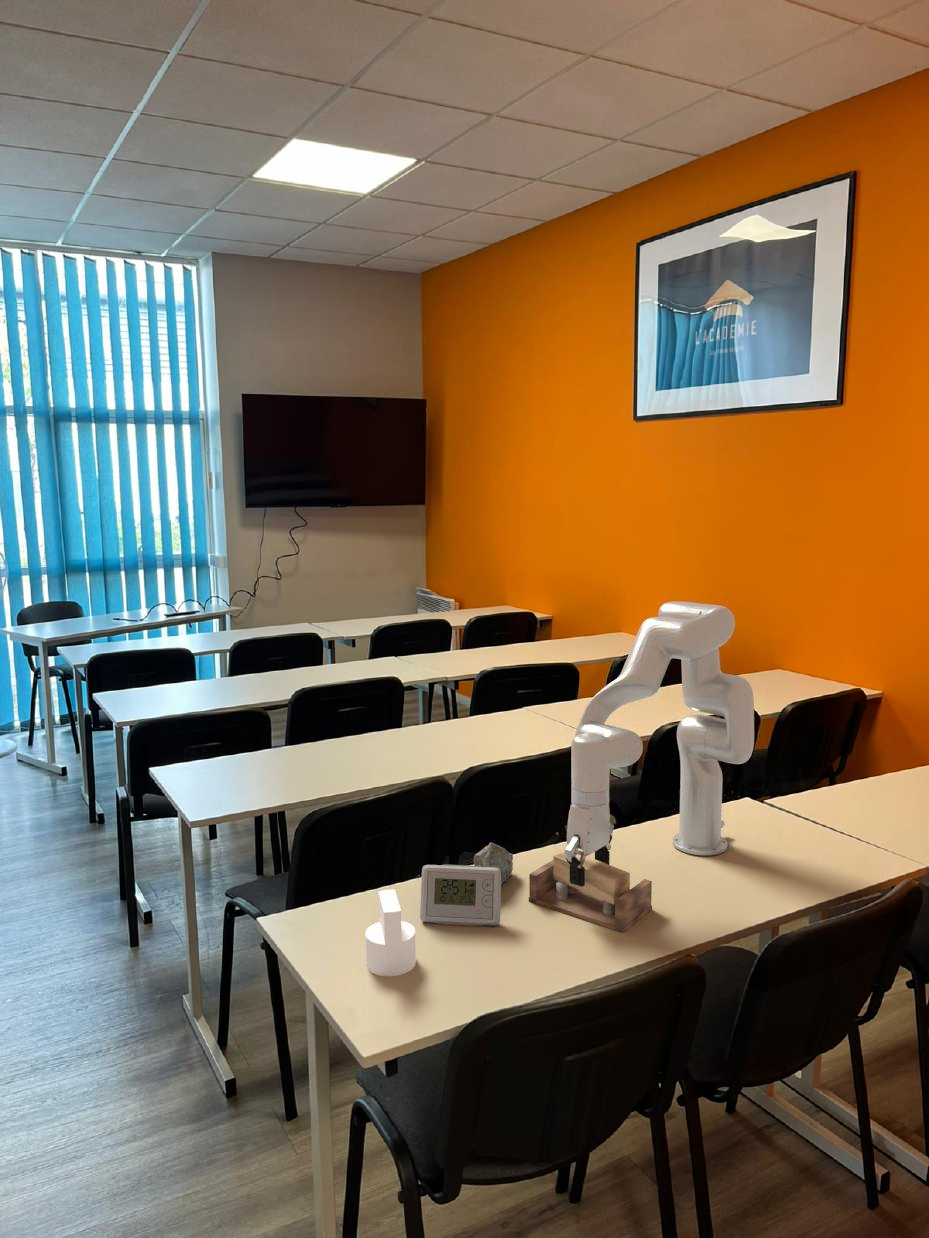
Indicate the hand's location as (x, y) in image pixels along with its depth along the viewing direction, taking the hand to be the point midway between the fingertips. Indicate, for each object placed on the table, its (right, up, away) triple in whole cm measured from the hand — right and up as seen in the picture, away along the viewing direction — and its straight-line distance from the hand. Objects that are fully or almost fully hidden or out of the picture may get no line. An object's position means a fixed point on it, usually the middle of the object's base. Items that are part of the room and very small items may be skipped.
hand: (589, 876), depth 183 cm
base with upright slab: (-39, -10, -20) cm, 45 cm away
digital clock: (-26, -8, -4) cm, 28 cm away
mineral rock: (-19, -5, +11) cm, 22 cm away
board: (0, -2, 0) cm, 3 cm away
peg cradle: (0, -6, +1) cm, 6 cm away
